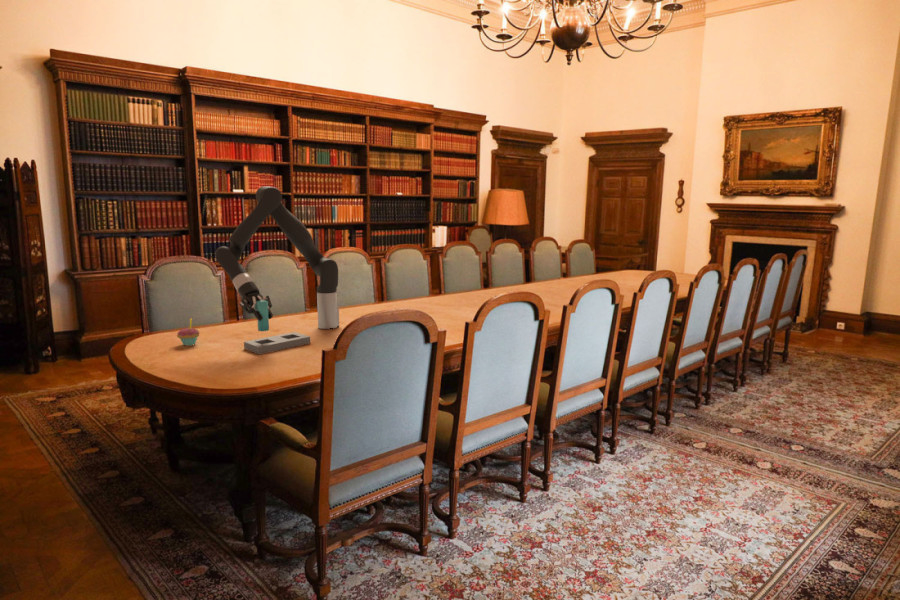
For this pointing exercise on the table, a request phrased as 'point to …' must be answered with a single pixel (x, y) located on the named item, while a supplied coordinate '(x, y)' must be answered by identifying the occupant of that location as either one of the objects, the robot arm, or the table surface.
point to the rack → (276, 342)
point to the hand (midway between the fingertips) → (266, 318)
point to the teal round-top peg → (263, 315)
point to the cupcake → (188, 335)
